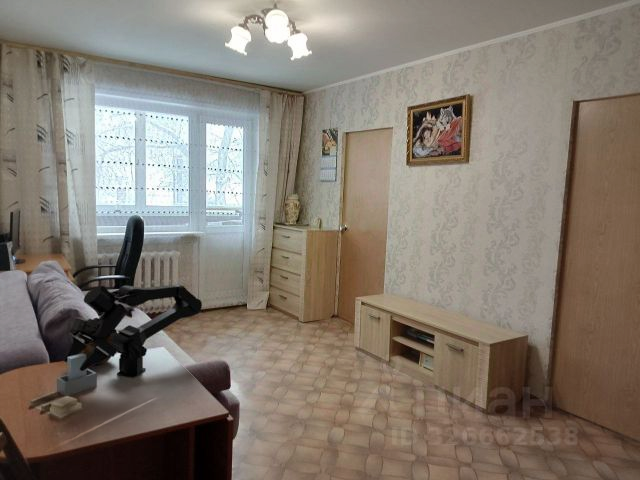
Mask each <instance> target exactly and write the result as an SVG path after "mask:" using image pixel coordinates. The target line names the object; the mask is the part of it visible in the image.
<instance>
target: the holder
mask: <svg viewBox="0 0 640 480" xmlns="http://www.w3.org/2000/svg"><path fill="white" fill-rule="evenodd" d="M97 377H98V373H97V372H95V371H93V370H91V369H90V368H87V369H86V376H83V377H80V378H77V379H73V380H70V381H68V374H65V375H62V376H59V377H56V391H57V392H58V394H61V395H62V396H63V397H64V396H66V395H67V396H71V395H75V394H77V393H80V392H83V391H86V390H89V389H92V388H96V387H97V386H98V378H97Z"/></svg>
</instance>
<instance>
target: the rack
mask: <svg viewBox="0 0 640 480" xmlns="http://www.w3.org/2000/svg"><path fill="white" fill-rule="evenodd" d="M58 394H59V392H57V390H54V391H51V392H49V393H45V394H44V395H41V396H38V397H35V398H34V399H33V398H32V399H30V400H29V404H28V406H29V407H32V408H34V409H37V410H38V411H41V412H43V413H45V414H47V415H49V416H51V417H53V418H56V419H58V420H62V419H64V418H66V417H69V416H70V415H74V414H75V413H77V412H81V411H83V410H85V407H83V406H82V403H81V402H78V398H75V397H73V396H70V395H68V396H67V395H66V396H64V395H63V396H61V397H59V395H58Z"/></svg>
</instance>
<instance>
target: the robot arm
mask: <svg viewBox="0 0 640 480" xmlns="http://www.w3.org/2000/svg"><path fill="white" fill-rule="evenodd" d="M168 298H169V299H170V298H173V299H174V300H173V301H175V303H174V304H173V306H172V308H169V309H168V310H166V311H165V312H163V313H161V314H159V315H157V316H156V317H153V318H152V319H150V320H148V321H147V322H145V323H143V324H141V325H139V326H138V327H135V326H133V325H130V324H129V325H127V326H125V327H124V328H123V329H120V330H117V329H116V328H117V327H118V326H119V324H120V323H121V322H122V321H123V319H124V318H125V317H128V318H130V319H131V318H133V313H132V311H133V310H132V308H130V307H134V308H135V307H137V306H141V305H143V304H145V303H146V302H148V301H153V300H161V299H168ZM116 302H118V303H116ZM83 303H85V304H86V305H87V306H89V307H90V308H91V309H92V310H94V311H95V312H96V313H98V314H101V315H100V316H99V318H98V317H95V318H93V319H92V318H87V319H86V318H82V317H77V316H75V318H74V320H73V322H72V325H71V328H70V330H68V333H69V335H68V336H69V339H70V343H69V347H68V349H67V351H66V354H65V357H64V359H63V362H65V363H66V364H67V357H70V356H74V355H77V354H79V353H80V352H81V351H82V350H84V349H85V348H86V347H87V346H86V345H85V344H89V343H92V344H94V345H96V346H97V347H95V346H93V345H91V352H90V354H89V355H88V356H87V358H86V359H85V361H84V362H83V364H82V365H81V367H80V370H81V371H84V370H86V369H90V368H91V367H92V366H95V365H96V363H98V362H100V361H102V360H104V359H106V358H109V356H108V355H110V356H112V357H113V358H114V357H115V355H116V354H117V353H118V354H119V358H118V372H116V375H117V376H124V377H130V378H136V377H137V376H139V375H140V374H141V373H143V372H144V371H146V370H147V369H146V367H144V366H143V363H144V359H143V358H144V357H145V356H146V355H147V351H148V349H147V348H146V347H144V344H145V343H146V341H147V340H148V339H149V338H151V337H153V336H154V335H156V334H158V333H159V332H161V331H162V330H164V329H166V328H167V327H169V326H171V325H172V324H175V323H176V322H178V321H180V320H181V319H184V318H191V317H194V316H196V315H198V314H199V313H201V310H202V309H203V308H202V306H203V303H202V301H201V299H199V298H197V297H196V296H195V295H194V294H192V293H191V291H189V290H188V289H187V288H186V287H185V286H184V285H182V284H177V283H172V284H169V285H157V286H149V287H148V286H147V287H142V286H141V287H140V286H133V285H122V286H120V287H119V288H118V289H117V290H112V291H109V290H108V289H107V287H106V286H104V285H102V284H99V285H98V286H97V287H95V288H92V289H90V290H89V291H87V292H86V294H85V295H84V298H83ZM124 305H126V306H129V307H125V306H124ZM112 332H113V333H116V332H117V334H116V335H115V336H114V339H113V342H112V343H111V342H109V341H108V340H107V338H108V337H109V336H110V334H111V333H112ZM84 343H85V344H84ZM112 357H111V358H112Z"/></svg>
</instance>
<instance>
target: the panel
mask: <svg viewBox="0 0 640 480" xmlns="http://www.w3.org/2000/svg"><path fill="white" fill-rule="evenodd" d="M85 359H86V354H84V353H81V354H77V355H74V356H70V357H67V363H66V364H67V365H66V366H67V369H66V370H67V375H68V381H70V380H73V379H77V378H80V377H83V376H86V370H84V371H81V370H80V367H81V365H82V364H83V362H84V361H85Z"/></svg>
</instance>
